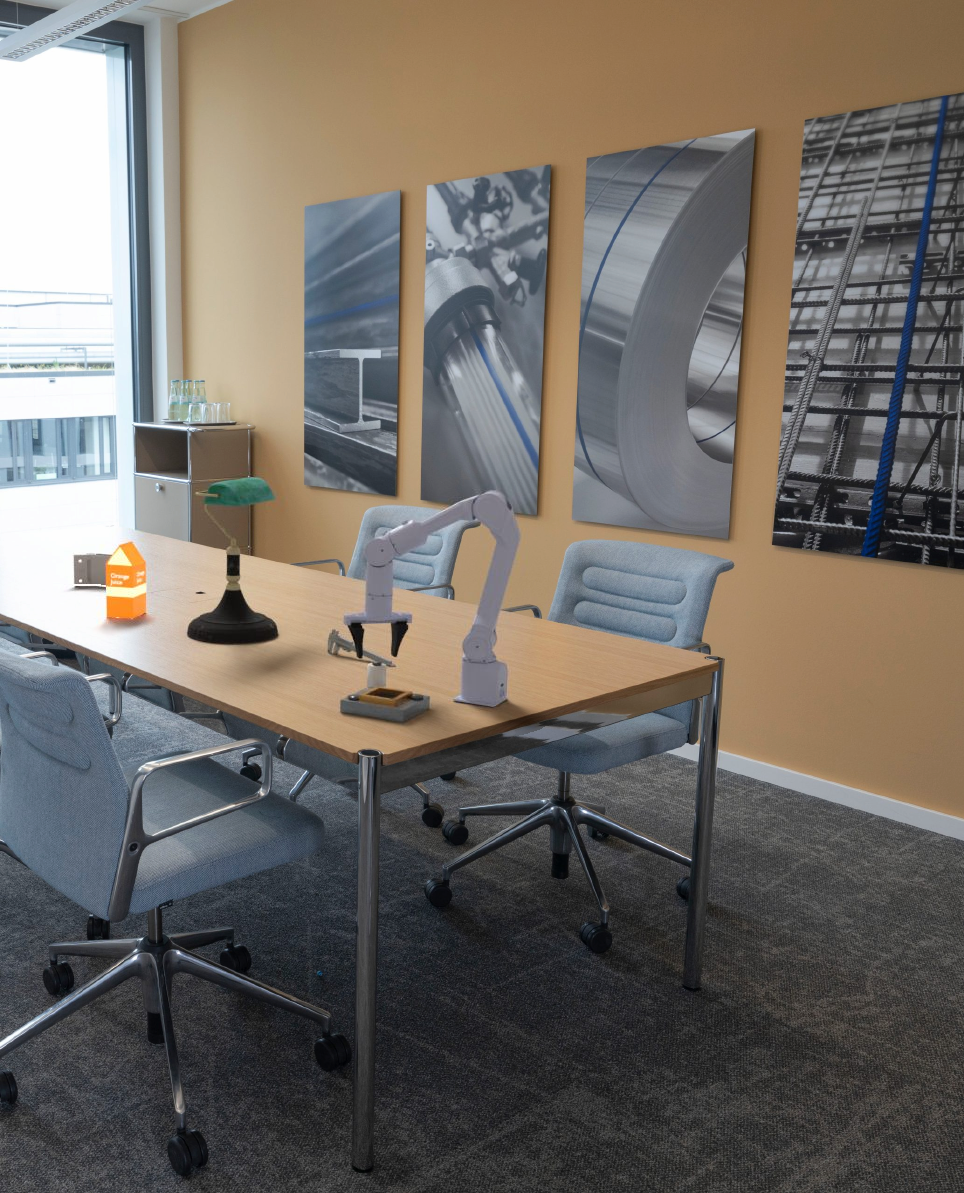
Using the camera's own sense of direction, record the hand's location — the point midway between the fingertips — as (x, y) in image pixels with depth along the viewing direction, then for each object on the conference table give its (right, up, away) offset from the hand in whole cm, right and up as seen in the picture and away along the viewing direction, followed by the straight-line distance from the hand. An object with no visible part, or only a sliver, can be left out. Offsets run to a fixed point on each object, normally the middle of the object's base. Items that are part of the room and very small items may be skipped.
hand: (376, 656), depth 232 cm
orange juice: (-75, +7, +67) cm, 101 cm away
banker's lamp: (-42, +3, +50) cm, 66 cm away
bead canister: (0, -8, +1) cm, 8 cm away
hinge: (-97, +16, +107) cm, 145 cm away
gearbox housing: (+3, -10, -12) cm, 16 cm away
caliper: (-7, -3, +30) cm, 30 cm away
